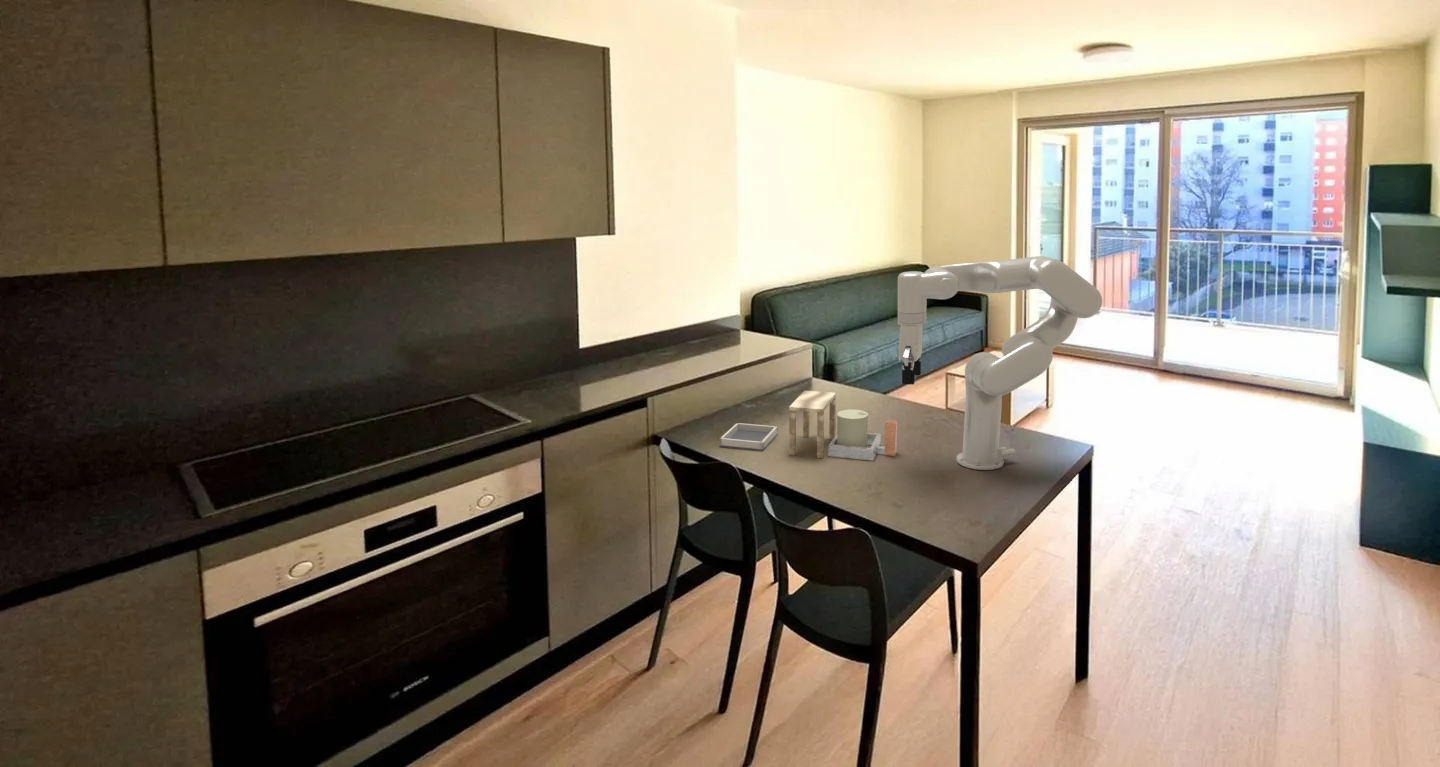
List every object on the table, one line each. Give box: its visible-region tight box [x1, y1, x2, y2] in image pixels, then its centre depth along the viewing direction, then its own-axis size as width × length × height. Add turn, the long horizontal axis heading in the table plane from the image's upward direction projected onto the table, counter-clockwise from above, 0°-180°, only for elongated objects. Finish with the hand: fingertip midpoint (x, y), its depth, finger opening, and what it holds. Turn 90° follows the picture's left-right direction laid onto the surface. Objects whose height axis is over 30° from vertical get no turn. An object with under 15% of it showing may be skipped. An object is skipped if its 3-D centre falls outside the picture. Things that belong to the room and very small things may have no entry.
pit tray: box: [719, 422, 779, 452], centre depth 234 cm, size 14×16×3 cm
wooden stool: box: [788, 390, 837, 459], centre depth 225 cm, size 10×18×15 cm, turn 159°
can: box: [836, 408, 869, 448], centre depth 221 cm, size 9×9×12 cm
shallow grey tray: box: [828, 419, 898, 462], centre depth 220 cm, size 18×14×10 cm
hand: (911, 379), depth 204 cm, fingers open, 9 cm apart
